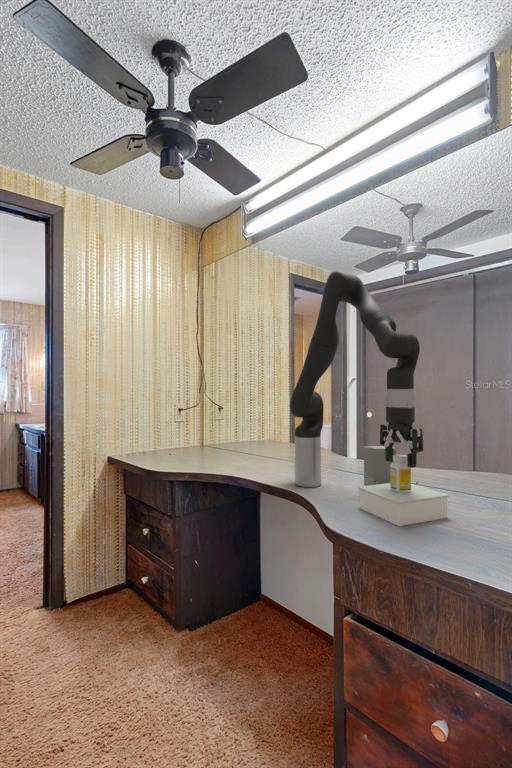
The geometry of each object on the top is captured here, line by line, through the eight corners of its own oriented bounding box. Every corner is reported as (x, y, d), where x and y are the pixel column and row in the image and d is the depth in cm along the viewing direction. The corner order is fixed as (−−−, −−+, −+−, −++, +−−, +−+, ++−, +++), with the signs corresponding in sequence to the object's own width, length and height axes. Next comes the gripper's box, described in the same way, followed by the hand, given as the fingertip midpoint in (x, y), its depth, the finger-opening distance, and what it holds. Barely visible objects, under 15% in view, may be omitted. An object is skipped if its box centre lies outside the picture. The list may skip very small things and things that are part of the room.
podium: (358, 507, 112) (357, 486, 112) (403, 501, 118) (403, 481, 118) (398, 526, 97) (398, 502, 97) (449, 518, 103) (448, 495, 103)
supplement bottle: (387, 491, 107) (387, 456, 107) (393, 487, 112) (393, 453, 112) (408, 494, 104) (407, 458, 104) (413, 490, 108) (413, 455, 109)
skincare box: (374, 501, 119) (374, 448, 119) (362, 495, 126) (361, 445, 126) (399, 498, 121) (398, 447, 121) (385, 492, 128) (384, 444, 128)
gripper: (372, 404, 113) (372, 460, 113) (408, 407, 100) (408, 470, 100) (393, 404, 116) (393, 458, 116) (430, 406, 103) (430, 468, 102)
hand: (400, 464), depth 108 cm, fingers open, 8 cm apart
